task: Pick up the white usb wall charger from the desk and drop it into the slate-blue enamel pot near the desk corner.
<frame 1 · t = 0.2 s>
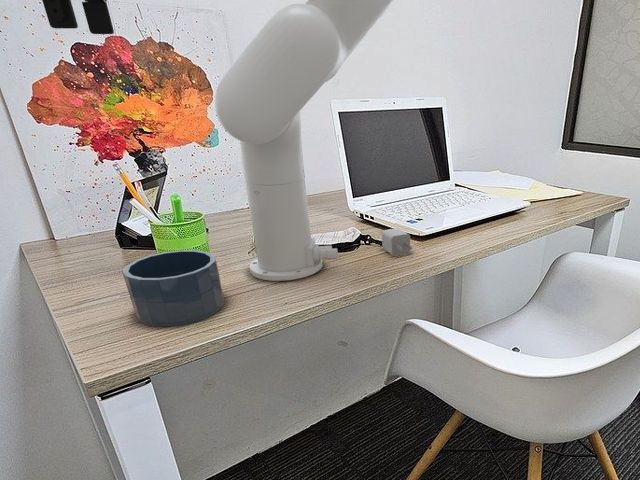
hand: (84, 31, 66), 36 cm above the table, tool pointing down, fingers open, 9 cm apart
usb wall charger: (399, 254, 92), on the table
pot: (182, 307, 70), on the table
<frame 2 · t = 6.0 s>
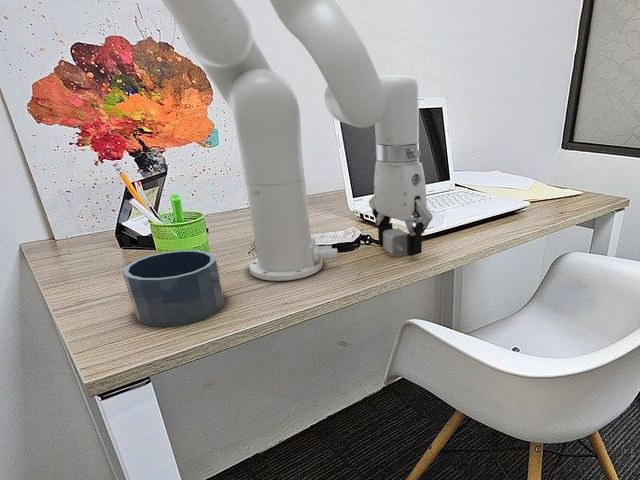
hand: (399, 248, 91), 1 cm above the table, tool pointing down, fingers closed on usb wall charger, 7 cm apart
usb wall charger: (399, 254, 92), on the table, touching gripper
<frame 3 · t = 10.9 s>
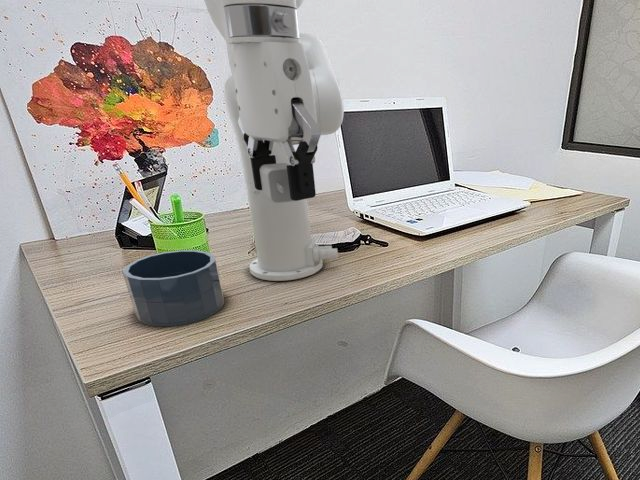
hand: (284, 192, 59), 18 cm above the table, tool pointing down, fingers closed on usb wall charger, 7 cm apart
usb wall charger: (286, 202, 60), point 17 cm above the table, touching gripper
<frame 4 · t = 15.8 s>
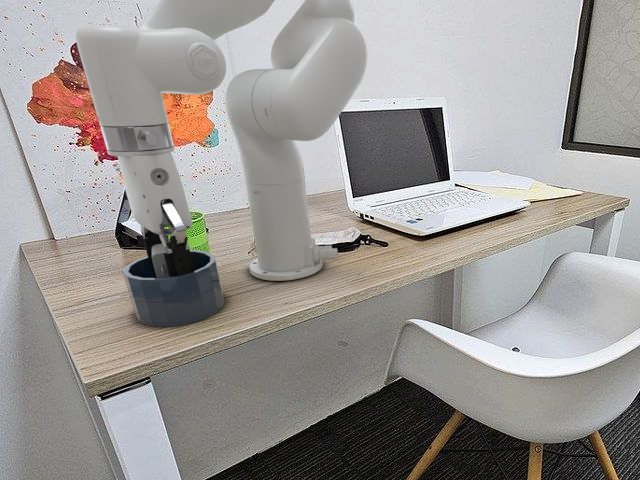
hand: (172, 269, 67), 6 cm above the table, tool pointing down, fingers closed on usb wall charger, 7 cm apart
usb wall charger: (173, 278, 68), point 5 cm above the table, touching gripper
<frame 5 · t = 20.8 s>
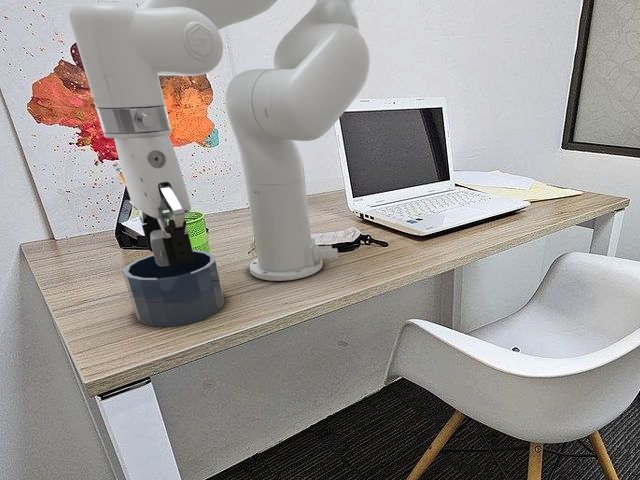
hand: (171, 255, 67), 8 cm above the table, tool pointing down, fingers closed on usb wall charger, 7 cm apart
usb wall charger: (172, 264, 67), point 7 cm above the table, touching gripper
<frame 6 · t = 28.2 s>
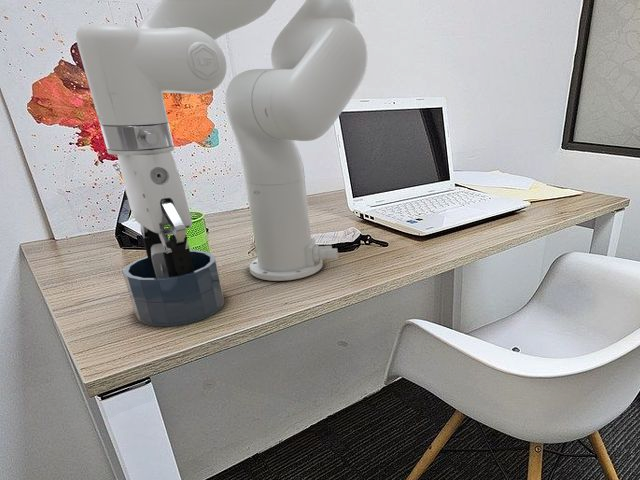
hand: (171, 269, 67), 6 cm above the table, tool pointing down, fingers closed on usb wall charger, 7 cm apart
usb wall charger: (173, 277, 68), point 5 cm above the table, touching gripper
when the fingers open (8 cm above the table, at t = 35.5 s): usb wall charger drops 7 cm, resting on pot.
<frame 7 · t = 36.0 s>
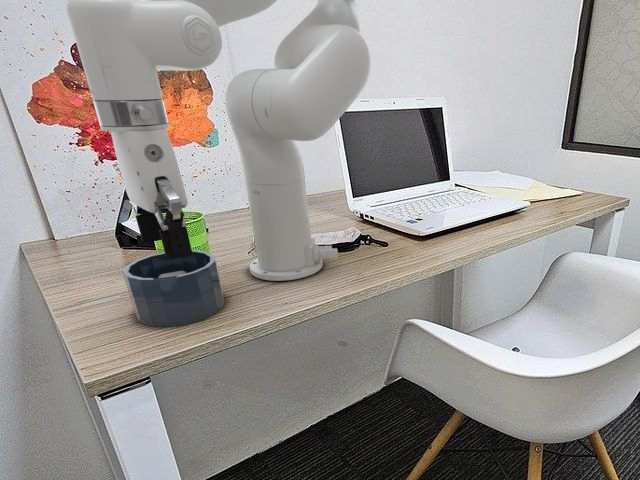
hand: (166, 248, 66), 9 cm above the table, tool pointing down, fingers open, 9 cm apart
usb wall charger: (180, 306, 70), resting on pot
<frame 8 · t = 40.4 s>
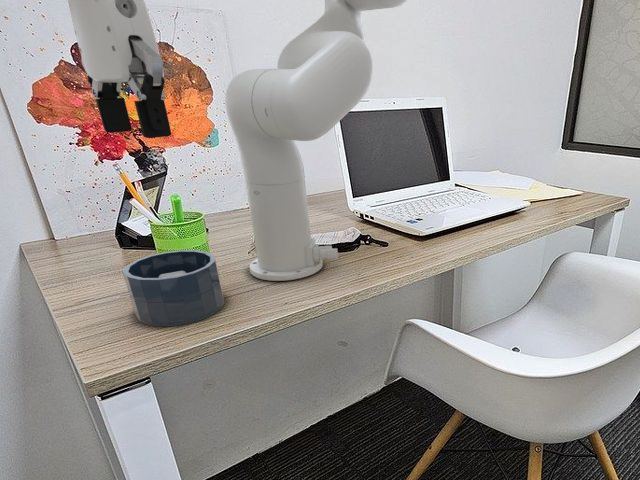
hand: (137, 134, 59), 24 cm above the table, tool pointing down, fingers open, 9 cm apart
nothing on the table moved.
at the end: usb wall charger inside the target area in the pot (0.1 cm from its centre), point 0.3 cm above the pot's base; the gripper is holding nothing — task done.
